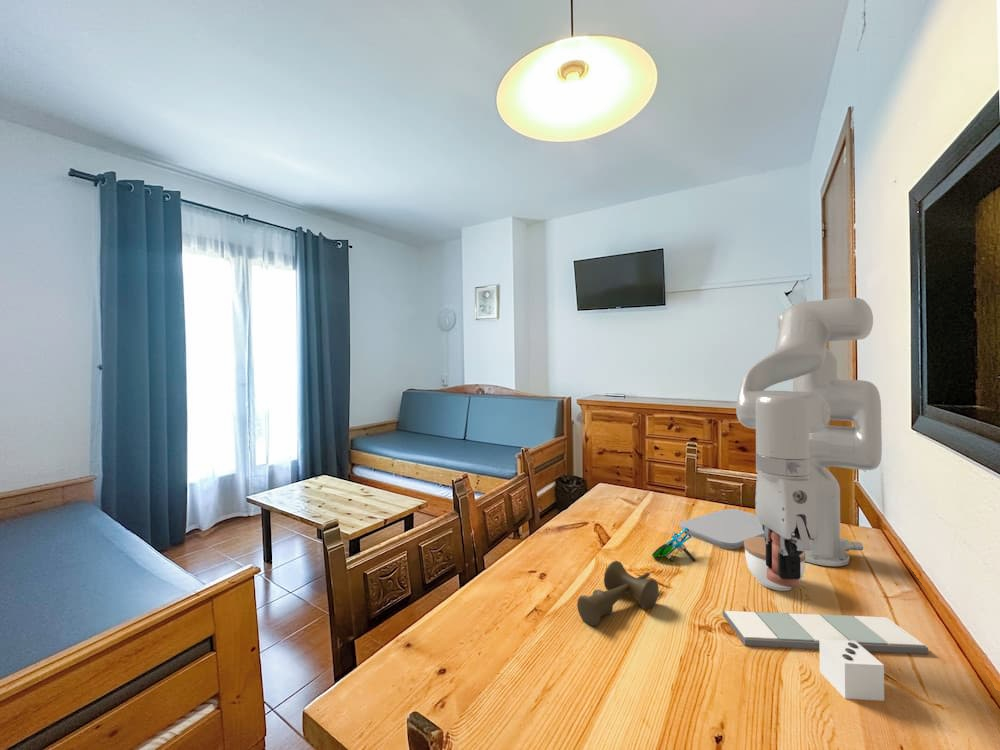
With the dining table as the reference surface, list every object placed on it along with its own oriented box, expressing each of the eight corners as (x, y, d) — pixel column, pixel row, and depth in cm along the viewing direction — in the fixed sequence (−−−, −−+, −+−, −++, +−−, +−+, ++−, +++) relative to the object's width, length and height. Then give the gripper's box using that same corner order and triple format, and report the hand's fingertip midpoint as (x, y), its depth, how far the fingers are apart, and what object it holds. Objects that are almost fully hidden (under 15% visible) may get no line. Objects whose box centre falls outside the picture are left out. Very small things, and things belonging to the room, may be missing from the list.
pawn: (788, 573, 71) (788, 523, 71) (805, 587, 67) (805, 534, 66) (761, 572, 72) (760, 523, 72) (776, 586, 67) (775, 533, 67)
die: (855, 673, 60) (855, 639, 60) (884, 701, 55) (884, 664, 55) (819, 671, 60) (819, 638, 60) (845, 699, 55) (844, 662, 55)
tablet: (674, 531, 114) (674, 523, 114) (731, 514, 126) (731, 507, 126) (730, 554, 99) (730, 545, 99) (788, 532, 111) (788, 524, 111)
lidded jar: (744, 566, 92) (743, 525, 92) (802, 578, 87) (801, 535, 87) (744, 588, 83) (744, 543, 83) (809, 603, 78) (809, 555, 78)
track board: (884, 622, 71) (884, 615, 71) (928, 654, 63) (928, 646, 63) (723, 615, 74) (722, 609, 74) (745, 645, 66) (744, 638, 66)
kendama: (566, 614, 76) (629, 577, 88) (607, 643, 69) (670, 598, 81) (565, 584, 76) (629, 551, 88) (607, 609, 68) (670, 569, 80)
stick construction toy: (679, 536, 104) (688, 520, 99) (701, 560, 99) (712, 544, 94) (645, 558, 99) (652, 543, 94) (666, 584, 95) (675, 569, 90)
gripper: (840, 478, 60) (841, 600, 61) (777, 456, 77) (777, 552, 77) (787, 477, 61) (788, 598, 61) (735, 455, 77) (736, 550, 78)
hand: (782, 571), depth 69 cm, fingers closed on pawn, 3 cm apart
